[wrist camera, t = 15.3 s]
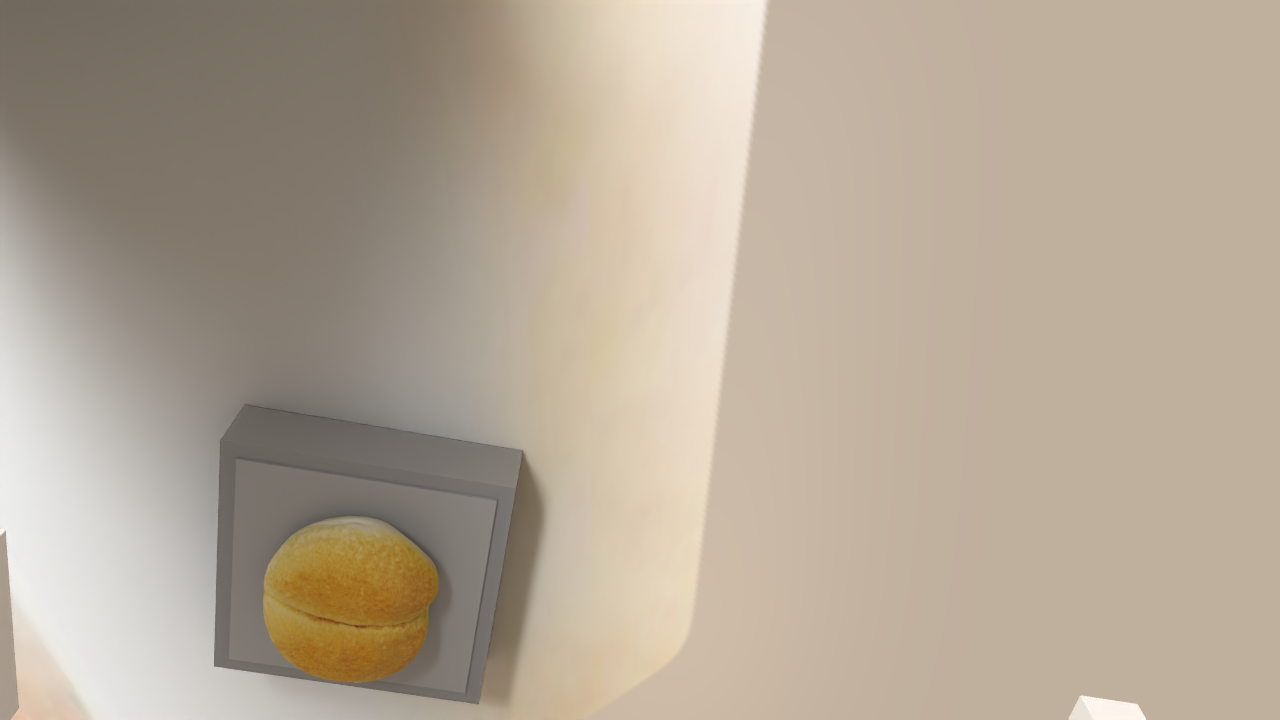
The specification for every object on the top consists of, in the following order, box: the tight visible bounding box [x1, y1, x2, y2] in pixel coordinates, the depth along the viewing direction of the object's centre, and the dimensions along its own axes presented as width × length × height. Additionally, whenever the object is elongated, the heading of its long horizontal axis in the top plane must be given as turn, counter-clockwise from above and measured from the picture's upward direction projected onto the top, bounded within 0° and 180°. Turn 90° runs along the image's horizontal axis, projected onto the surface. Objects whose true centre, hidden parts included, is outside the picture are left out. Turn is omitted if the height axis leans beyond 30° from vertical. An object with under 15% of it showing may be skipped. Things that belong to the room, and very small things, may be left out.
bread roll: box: [263, 516, 439, 683], centre depth 51 cm, size 8×9×4 cm
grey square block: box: [214, 405, 523, 704], centre depth 55 cm, size 14×14×4 cm
